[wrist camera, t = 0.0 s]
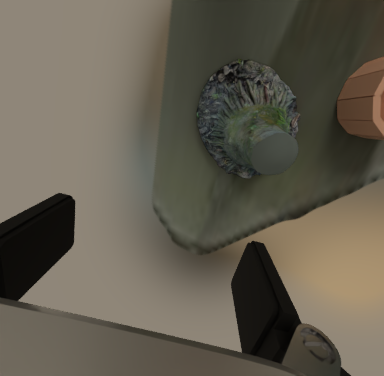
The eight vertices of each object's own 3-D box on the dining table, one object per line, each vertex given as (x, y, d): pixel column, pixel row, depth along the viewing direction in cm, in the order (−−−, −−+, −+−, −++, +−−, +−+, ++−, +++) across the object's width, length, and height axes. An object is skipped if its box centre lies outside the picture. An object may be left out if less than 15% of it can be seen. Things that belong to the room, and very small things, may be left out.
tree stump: (290, 44, 33) (382, 30, 18) (284, 151, 44) (339, 197, 29) (186, 72, 34) (191, 80, 19) (206, 168, 45) (219, 221, 30)
